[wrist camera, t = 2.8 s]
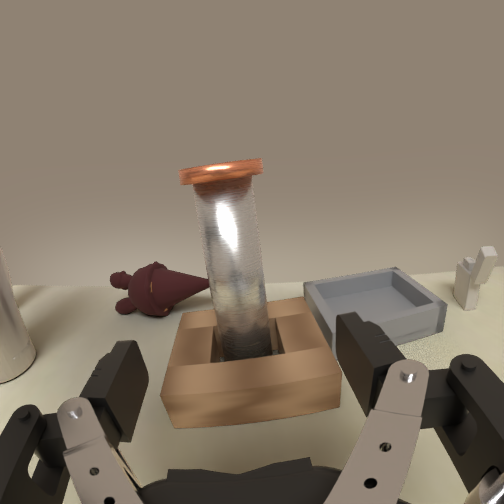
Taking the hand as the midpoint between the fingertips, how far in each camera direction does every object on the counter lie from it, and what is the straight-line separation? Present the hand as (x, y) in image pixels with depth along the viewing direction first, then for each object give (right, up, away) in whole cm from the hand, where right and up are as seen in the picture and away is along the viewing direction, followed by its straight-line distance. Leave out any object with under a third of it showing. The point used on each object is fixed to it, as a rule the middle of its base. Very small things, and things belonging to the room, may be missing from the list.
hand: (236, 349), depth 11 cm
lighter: (+25, -3, +16) cm, 30 cm away
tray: (+13, -3, +18) cm, 23 cm away
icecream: (-11, -4, +26) cm, 29 cm away
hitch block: (+1, -6, +13) cm, 15 cm away
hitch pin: (+1, -6, +13) cm, 15 cm away
